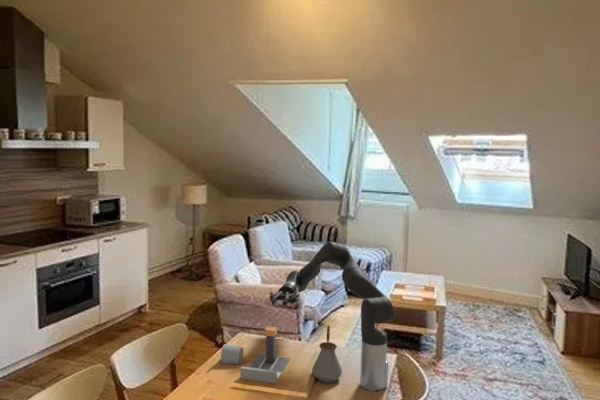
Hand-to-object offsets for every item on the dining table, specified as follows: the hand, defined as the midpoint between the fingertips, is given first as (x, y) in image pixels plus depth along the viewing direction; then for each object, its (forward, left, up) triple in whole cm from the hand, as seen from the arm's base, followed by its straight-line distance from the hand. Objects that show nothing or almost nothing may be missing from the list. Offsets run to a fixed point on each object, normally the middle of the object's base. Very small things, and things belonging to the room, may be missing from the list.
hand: (278, 303), depth 207 cm
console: (+8, +14, -22) cm, 27 cm away
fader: (+5, +9, -21) cm, 23 cm away
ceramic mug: (+20, +4, -22) cm, 30 cm away
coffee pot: (-15, +20, -22) cm, 34 cm away
